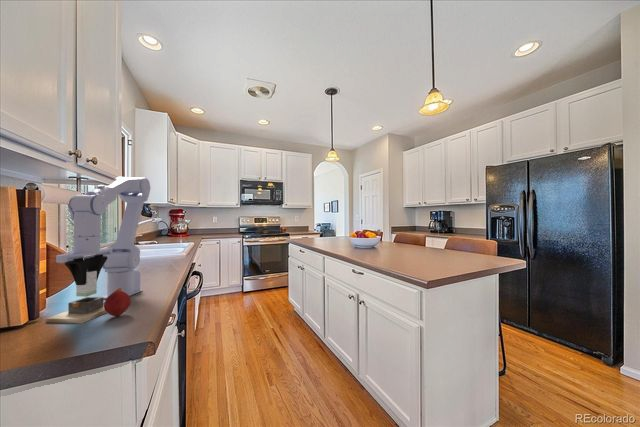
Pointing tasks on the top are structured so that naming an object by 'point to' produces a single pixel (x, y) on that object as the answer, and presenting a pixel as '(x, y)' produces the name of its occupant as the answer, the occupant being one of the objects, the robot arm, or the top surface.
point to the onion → (117, 303)
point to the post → (88, 285)
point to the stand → (80, 311)
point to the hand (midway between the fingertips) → (86, 283)
